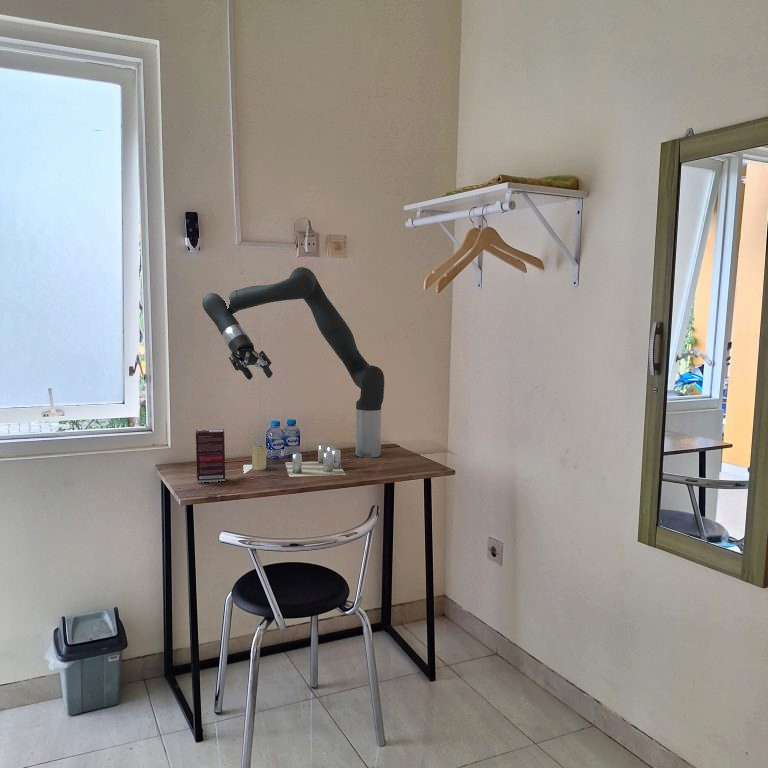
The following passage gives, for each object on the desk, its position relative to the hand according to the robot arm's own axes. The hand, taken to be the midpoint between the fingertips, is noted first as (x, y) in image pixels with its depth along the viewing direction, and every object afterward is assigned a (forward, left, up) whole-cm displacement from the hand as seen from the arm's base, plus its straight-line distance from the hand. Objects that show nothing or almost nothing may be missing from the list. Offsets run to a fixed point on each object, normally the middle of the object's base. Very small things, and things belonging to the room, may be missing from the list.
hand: (260, 377), depth 230 cm
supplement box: (+15, -16, -31) cm, 38 cm away
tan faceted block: (+5, -1, -30) cm, 31 cm away
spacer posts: (+5, +18, -30) cm, 35 cm away
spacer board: (+7, +17, -31) cm, 36 cm away
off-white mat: (+5, -1, -31) cm, 31 cm away
